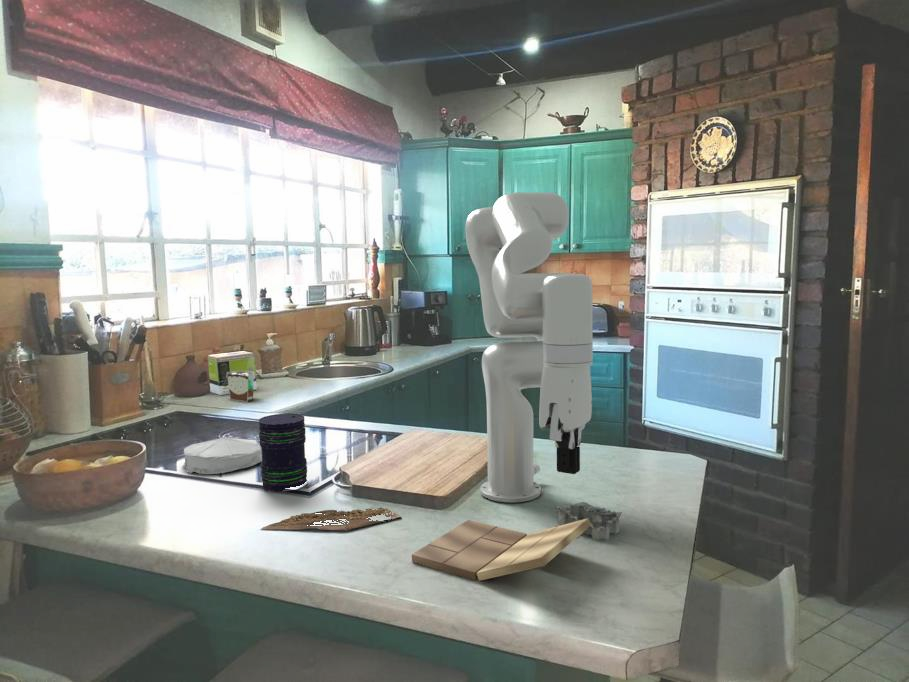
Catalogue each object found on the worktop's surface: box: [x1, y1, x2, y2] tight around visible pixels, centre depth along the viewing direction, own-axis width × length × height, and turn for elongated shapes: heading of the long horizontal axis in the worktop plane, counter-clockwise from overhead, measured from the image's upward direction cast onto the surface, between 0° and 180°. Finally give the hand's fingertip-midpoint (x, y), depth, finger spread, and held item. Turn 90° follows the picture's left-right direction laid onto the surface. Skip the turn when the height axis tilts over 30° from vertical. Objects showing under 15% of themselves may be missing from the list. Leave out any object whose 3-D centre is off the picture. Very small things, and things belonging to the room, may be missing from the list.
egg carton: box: [554, 501, 623, 541], centre depth 120 cm, size 11×8×4 cm
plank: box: [477, 518, 591, 582], centre depth 104 cm, size 17×12×1 cm
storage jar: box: [258, 413, 308, 493], centre depth 146 cm, size 10×10×15 cm
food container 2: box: [226, 371, 255, 403], centre depth 241 cm, size 12×6×10 cm, turn 58°
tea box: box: [207, 350, 258, 396], centre depth 257 cm, size 15×10×15 cm, turn 130°
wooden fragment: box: [261, 506, 401, 532], centre depth 125 cm, size 26×11×1 cm, turn 97°
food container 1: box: [182, 437, 262, 475], centre depth 164 cm, size 20×20×7 cm
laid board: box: [411, 519, 528, 581], centre depth 111 cm, size 17×12×1 cm
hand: (568, 471), depth 104 cm, fingers closed
